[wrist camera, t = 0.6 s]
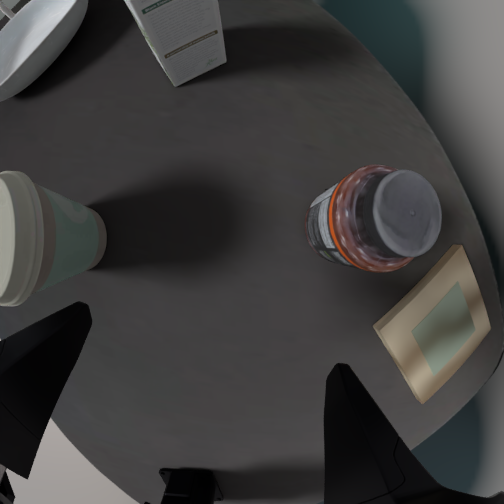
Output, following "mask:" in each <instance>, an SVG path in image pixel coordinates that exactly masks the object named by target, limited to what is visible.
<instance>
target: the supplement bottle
mask: <svg viewBox="0 0 504 504" xmlns="http://www.w3.org/2000/svg"><path fill="white" fill-rule="evenodd" d="M325 190H326V191H324V192H323V193H322V194H320V195H319V196H318V197H317V198H316V199H315V200H314V201H313V202H312V204H311V205H310V207H309V209H308V211H307V214H306V218H305V232H306V236H307V239H308V242H309V244H310V245H311V247H312V248H313V249H314V251H315V252H316V253H317V254H319V255H320V256H321V257H323V258H325V259H326V260H328V261H331V262H334V263H338V264H342V265H346V266H350V267H354V268H358V269H362V270H367V271H371V272H391V271H395V270H397V269H399V268H402V267H403V266H405V265H406V264H408V263H409V262H410V261H411V260H412V259H413V258H414V257H417V256H420V255H422V254H424V253H426V252H427V251H428V250H430V249H431V247H432V246H433V245H434V243H435V242H436V240H437V238H438V236H439V233H440V230H441V222H442V211H441V206H440V201H439V199H438V196H437V193H436V192H435V190H434V188H433V187H432V185H431V184H430V183H429V182H428V181H427V180H426V179H425V178H424V177H423V176H421V175H420V174H418V173H416V172H414V171H410V170H405V169H403V170H397V169H395V168H392V167H389V166H385V165H377V164H376V165H367V166H364V167H361V168H359V169H357V170H355V171H354V172H352V173H351V174H349V175H347V176H346V177H344V178H343V179H342V180H340V181H339V182H337V183H336V184H334V185H333V186H332V187H330V188H329V189H325Z"/></svg>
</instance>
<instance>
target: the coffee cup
mask: <svg viewBox="0 0 504 504" xmlns="http://www.w3.org/2000/svg"><path fill="white" fill-rule="evenodd" d="M106 243H107V233H106V228H105V224H104V222H103V220H102V218H101V217H100V215H99V214H98V213H97V212H96V211H94V210H92V209H90V208H88V207H86V206H84V205H82V204H79V203H77V202H75V201H73V200H70V199H68V198H66V197H64V196H61V195H59V194H57V193H55V192H52V191H50V190H48V189H46V188H44V187H41V186H39V185H37V184H35V183H32V181H31V180H30V179H29V177H28V176H26V175H25V174H24V173H22V172H19V171H4V172H1V173H0V305H1V306H17V305H20V304H21V303H23V302H24V301H25V300H26V299H27V298H28V297H29V296H30V295H31V294H34V293H36V292H38V291H40V290H42V289H45V288H47V287H49V286H52V285H54V284H56V283H58V282H61V281H63V280H65V279H68V278H70V277H73V276H75V275H77V274H80V273H82V272H84V271H87V270H89V269H91V268H93V267H94V266H96V265H97V264H98V263H99V261H100V260H101V259H102V257H103V255H104V252H105V249H106Z"/></svg>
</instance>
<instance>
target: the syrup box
mask: <svg viewBox="0 0 504 504" xmlns="http://www.w3.org/2000/svg"><path fill="white" fill-rule="evenodd" d="M124 1H125V3H126V4H127V6H128V8H129V10H130V12H131V13H132V15H133V17H134V19H135V21H136V22H137V24H138V26H139V28H140V30H141V31H142V33H143V35H144V37H145V39H146V41H147V42H148V44H149V46H150V48H151V50H152V52H153V53H154V55H155V57H156V59H157V60H158V62H159V63H160V65H161V66H162V68H163V69H164V71H165V73H166V74H167V76H168V77H169V79H170V81H171V82H172V84H173V85H174V86H175V87H177V86H179V85H181V84H183V83H185V82H187V81H189V80H191V79H193V78H195V77H197V76H199V75H201V74H203V73H205V72H207V71H209V70H211V69H213V68H215V67H217V66H219V65H221V64H223V63H226V61H227V60H226V53H225V45H224V38H223V32H222V25H221V19H220V13H219V6H218V0H124Z"/></svg>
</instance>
